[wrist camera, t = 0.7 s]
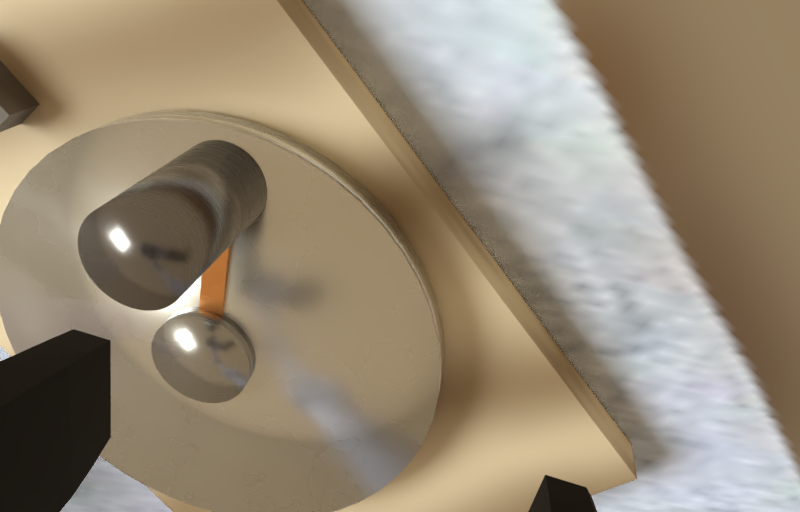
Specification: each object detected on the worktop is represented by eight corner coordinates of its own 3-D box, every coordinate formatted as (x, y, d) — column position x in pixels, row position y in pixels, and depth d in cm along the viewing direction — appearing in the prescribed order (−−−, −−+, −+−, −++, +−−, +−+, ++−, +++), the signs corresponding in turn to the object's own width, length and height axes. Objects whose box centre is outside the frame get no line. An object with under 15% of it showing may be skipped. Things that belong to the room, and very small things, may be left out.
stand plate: (631, 445, 22) (641, 509, 19) (286, 576, 28) (262, 636, 26) (111, -258, 15) (32, -290, 13) (-174, 122, 22) (-260, 146, 20)
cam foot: (391, 544, 23) (352, 697, 19) (30, 427, 24) (-90, 546, 20) (503, 191, 17) (487, 296, 12) (-1, 50, 18) (-194, 97, 13)
